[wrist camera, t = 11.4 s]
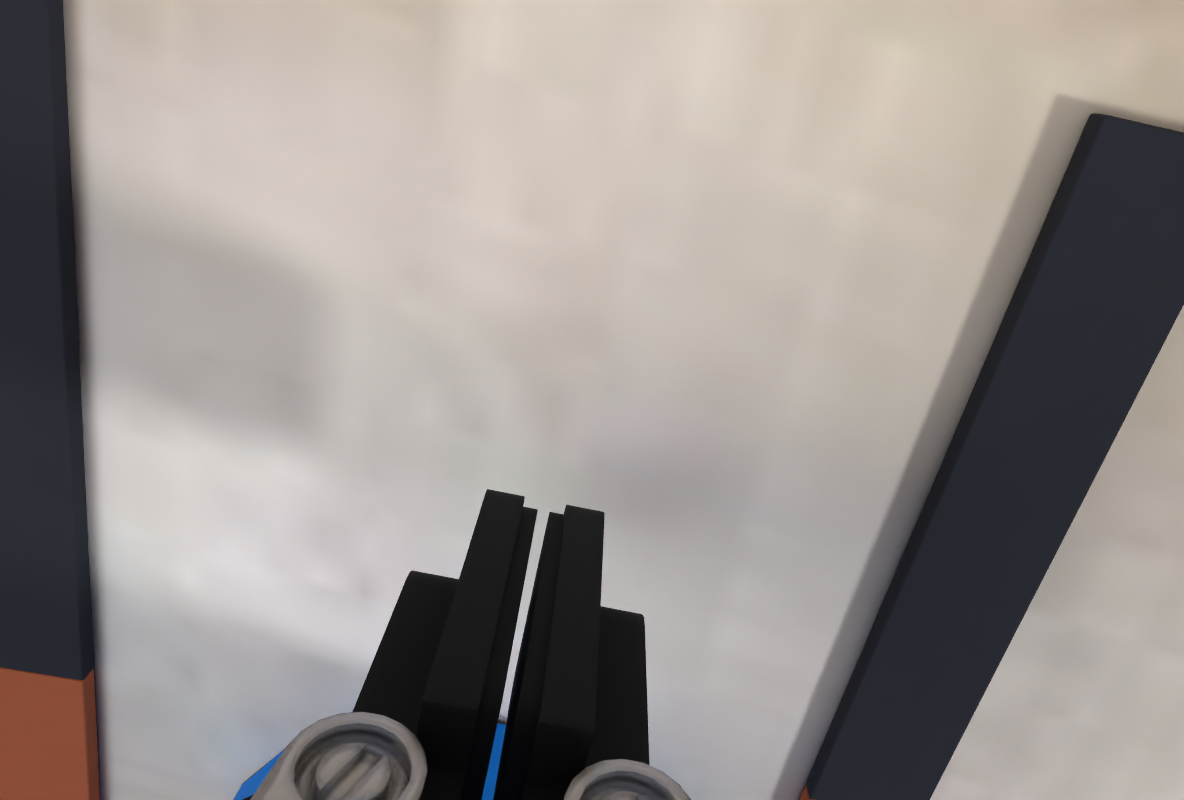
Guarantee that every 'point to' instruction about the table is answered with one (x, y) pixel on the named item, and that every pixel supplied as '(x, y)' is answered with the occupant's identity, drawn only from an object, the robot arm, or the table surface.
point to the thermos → (488, 794)
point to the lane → (925, 573)
